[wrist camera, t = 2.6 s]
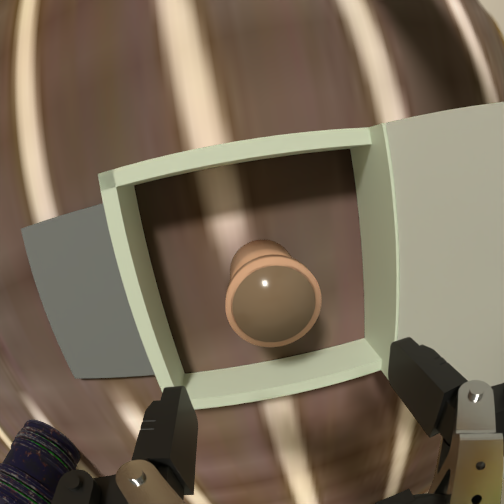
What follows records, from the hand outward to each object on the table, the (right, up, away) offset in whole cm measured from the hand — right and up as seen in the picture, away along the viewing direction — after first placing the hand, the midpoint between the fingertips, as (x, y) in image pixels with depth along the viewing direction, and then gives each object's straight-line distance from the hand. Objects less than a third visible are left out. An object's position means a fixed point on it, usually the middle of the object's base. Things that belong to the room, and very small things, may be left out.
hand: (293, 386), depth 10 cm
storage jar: (-31, -23, +18) cm, 42 cm away
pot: (-1, +3, +14) cm, 15 cm away
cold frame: (+1, +4, +14) cm, 15 cm away
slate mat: (-16, +1, +14) cm, 21 cm away
